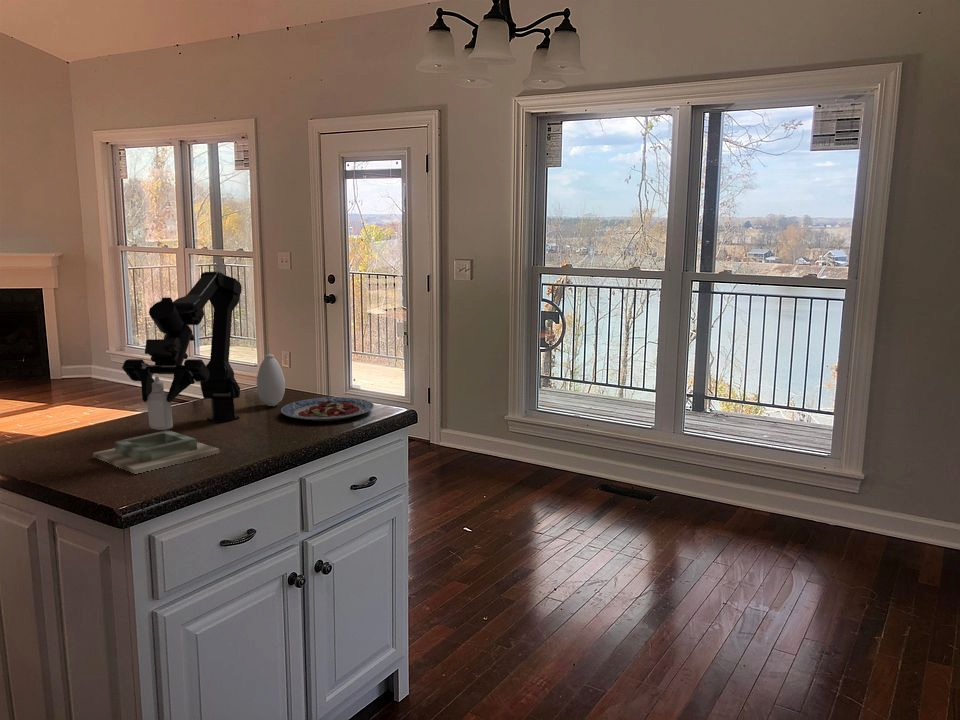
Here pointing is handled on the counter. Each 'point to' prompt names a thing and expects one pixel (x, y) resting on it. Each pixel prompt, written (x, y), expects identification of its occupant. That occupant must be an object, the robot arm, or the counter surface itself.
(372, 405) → the ceramic plate
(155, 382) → the eye dropper bottle
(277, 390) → the white vase
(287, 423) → the counter surface
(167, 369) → the robot arm
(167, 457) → the bottle socket
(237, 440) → the counter surface
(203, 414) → the counter surface
